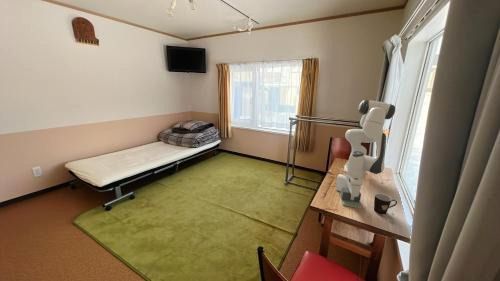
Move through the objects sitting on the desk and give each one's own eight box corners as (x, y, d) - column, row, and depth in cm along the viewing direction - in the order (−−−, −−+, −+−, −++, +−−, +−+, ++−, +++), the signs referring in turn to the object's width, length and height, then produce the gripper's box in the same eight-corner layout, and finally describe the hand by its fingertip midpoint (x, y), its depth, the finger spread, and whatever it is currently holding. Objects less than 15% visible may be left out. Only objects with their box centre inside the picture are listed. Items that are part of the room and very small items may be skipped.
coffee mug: (371, 212, 118) (374, 198, 116) (372, 205, 125) (375, 191, 123) (394, 220, 112) (398, 204, 109) (394, 212, 119) (398, 197, 116)
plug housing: (340, 195, 134) (341, 187, 132) (357, 198, 131) (359, 190, 129) (341, 199, 129) (343, 191, 128) (359, 202, 126) (361, 194, 125)
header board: (339, 194, 138) (340, 188, 137) (355, 196, 136) (356, 190, 134) (343, 205, 125) (344, 198, 124) (360, 208, 123) (361, 201, 121)
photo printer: (334, 189, 145) (336, 173, 142) (338, 187, 147) (340, 172, 144) (347, 195, 136) (349, 179, 133) (350, 194, 139) (353, 178, 135)
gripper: (345, 169, 136) (342, 187, 140) (351, 183, 117) (348, 203, 121) (355, 170, 135) (352, 188, 138) (363, 184, 116) (359, 205, 119)
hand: (350, 195), depth 129 cm, fingers open, 8 cm apart
